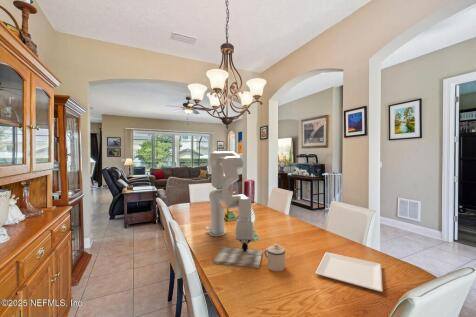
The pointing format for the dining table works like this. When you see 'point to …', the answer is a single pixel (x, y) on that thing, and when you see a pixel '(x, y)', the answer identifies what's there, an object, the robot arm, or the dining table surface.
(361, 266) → the plate
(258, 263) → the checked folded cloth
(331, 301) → the dining table surface
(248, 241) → the robot arm
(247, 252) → the folded checkered cloth
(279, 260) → the teacup with lid
